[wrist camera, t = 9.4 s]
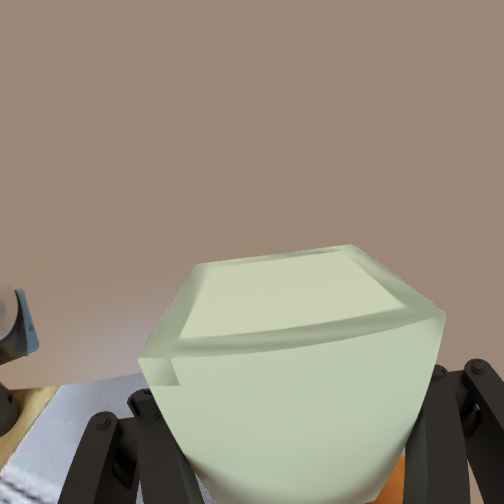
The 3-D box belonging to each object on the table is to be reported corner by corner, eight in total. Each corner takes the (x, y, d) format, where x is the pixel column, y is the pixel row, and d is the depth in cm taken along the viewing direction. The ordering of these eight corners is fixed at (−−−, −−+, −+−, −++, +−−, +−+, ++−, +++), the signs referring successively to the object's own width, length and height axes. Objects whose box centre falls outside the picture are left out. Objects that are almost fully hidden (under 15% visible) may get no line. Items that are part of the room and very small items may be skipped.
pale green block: (236, 427, 15) (196, 264, 12) (345, 412, 14) (352, 244, 12) (230, 520, 8) (136, 358, 5) (374, 500, 8) (446, 313, 5)
